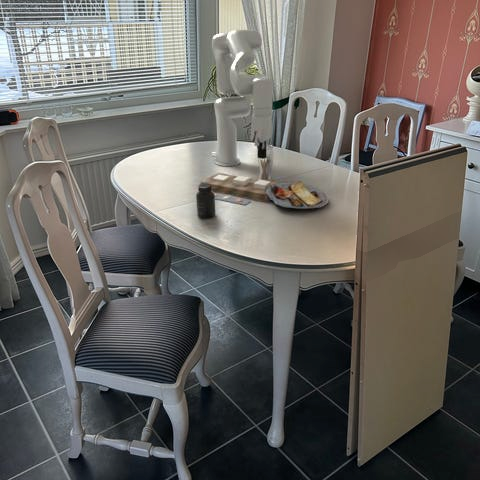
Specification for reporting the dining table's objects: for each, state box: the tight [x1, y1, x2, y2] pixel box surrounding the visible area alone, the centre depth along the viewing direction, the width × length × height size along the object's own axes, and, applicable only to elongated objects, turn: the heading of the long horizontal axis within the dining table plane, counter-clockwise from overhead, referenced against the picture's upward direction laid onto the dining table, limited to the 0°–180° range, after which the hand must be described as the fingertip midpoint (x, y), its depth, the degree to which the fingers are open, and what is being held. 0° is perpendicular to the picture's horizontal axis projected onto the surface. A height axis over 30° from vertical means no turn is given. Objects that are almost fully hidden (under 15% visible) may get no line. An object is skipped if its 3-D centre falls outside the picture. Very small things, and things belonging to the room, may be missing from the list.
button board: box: [200, 172, 277, 203], centre depth 198 cm, size 32×14×3 cm, turn 60°
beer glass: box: [257, 144, 275, 182], centre depth 208 cm, size 7×7×15 cm
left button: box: [213, 175, 229, 183], centre depth 202 cm, size 5×5×3 cm
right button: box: [254, 179, 272, 190], centre depth 193 cm, size 5×5×3 cm
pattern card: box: [213, 192, 252, 206], centre depth 190 cm, size 20×5×1 cm, turn 60°
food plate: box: [265, 180, 329, 210], centre depth 186 cm, size 25×23×4 cm
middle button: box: [233, 175, 251, 186], centre depth 198 cm, size 5×5×3 cm
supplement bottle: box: [195, 183, 216, 220], centre depth 172 cm, size 7×7×12 cm
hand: (261, 157), depth 188 cm, fingers closed
